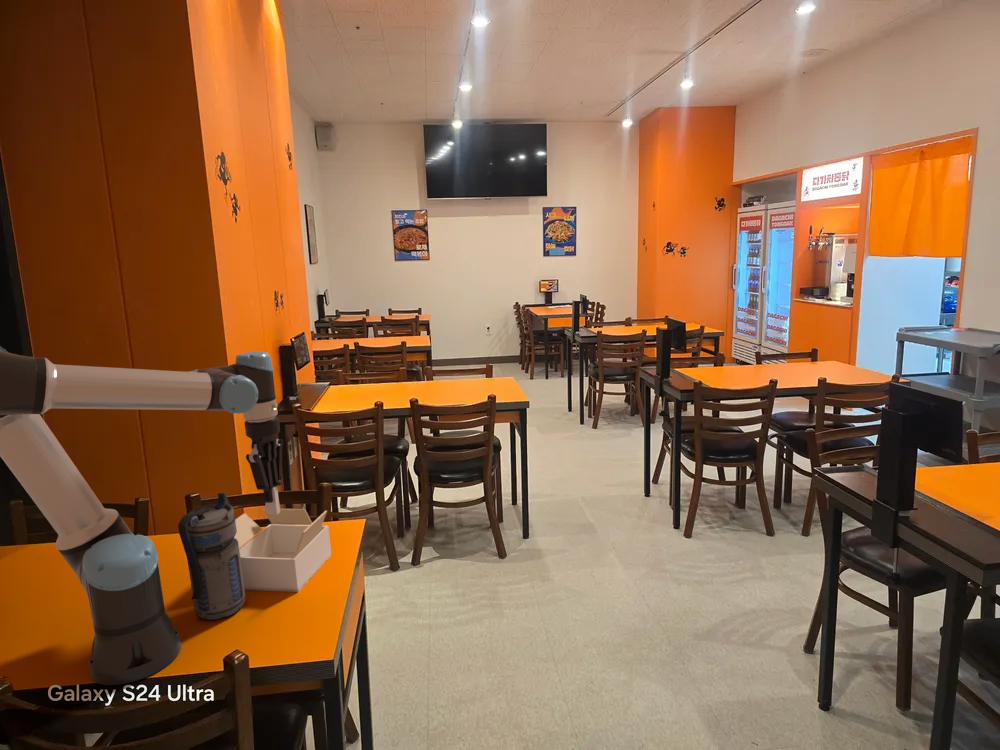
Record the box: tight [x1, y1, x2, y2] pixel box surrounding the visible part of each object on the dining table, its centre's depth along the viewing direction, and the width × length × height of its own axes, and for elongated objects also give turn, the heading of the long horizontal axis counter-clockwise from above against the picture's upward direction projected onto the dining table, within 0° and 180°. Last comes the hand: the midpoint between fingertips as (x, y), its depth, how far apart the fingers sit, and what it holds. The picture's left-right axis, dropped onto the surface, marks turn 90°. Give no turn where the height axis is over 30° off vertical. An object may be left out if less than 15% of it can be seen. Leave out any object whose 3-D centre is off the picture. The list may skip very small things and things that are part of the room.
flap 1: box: [263, 507, 313, 525], centre depth 156 cm, size 6×11×1 cm
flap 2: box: [295, 510, 328, 554], centre depth 146 cm, size 12×6×1 cm
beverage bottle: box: [177, 492, 246, 621], centre depth 132 cm, size 10×13×25 cm
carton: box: [234, 512, 332, 593], centre depth 150 cm, size 18×20×13 cm
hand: (273, 513), depth 149 cm, fingers closed
